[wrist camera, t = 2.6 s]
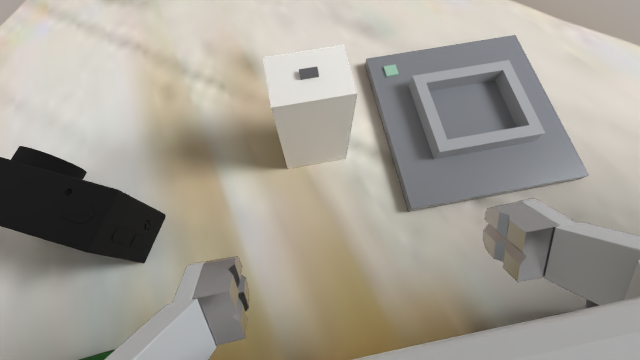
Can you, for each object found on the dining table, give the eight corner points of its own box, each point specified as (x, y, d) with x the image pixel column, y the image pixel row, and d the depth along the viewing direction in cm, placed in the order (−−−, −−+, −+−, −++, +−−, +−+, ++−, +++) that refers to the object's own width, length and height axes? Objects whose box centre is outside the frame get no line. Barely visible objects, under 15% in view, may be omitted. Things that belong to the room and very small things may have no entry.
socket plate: (509, 42, 34) (523, 23, 31) (580, 179, 28) (603, 168, 26) (365, 65, 33) (368, 47, 30) (408, 211, 27) (416, 203, 25)
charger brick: (337, 121, 31) (344, 41, 21) (346, 158, 29) (357, 90, 20) (281, 131, 30) (262, 53, 21) (287, 168, 29) (270, 104, 19)
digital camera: (174, 202, 28) (128, 173, 21) (146, 263, 26) (87, 252, 19) (70, 174, 29) (-4, 138, 22) (36, 230, 27) (-55, 209, 21)
